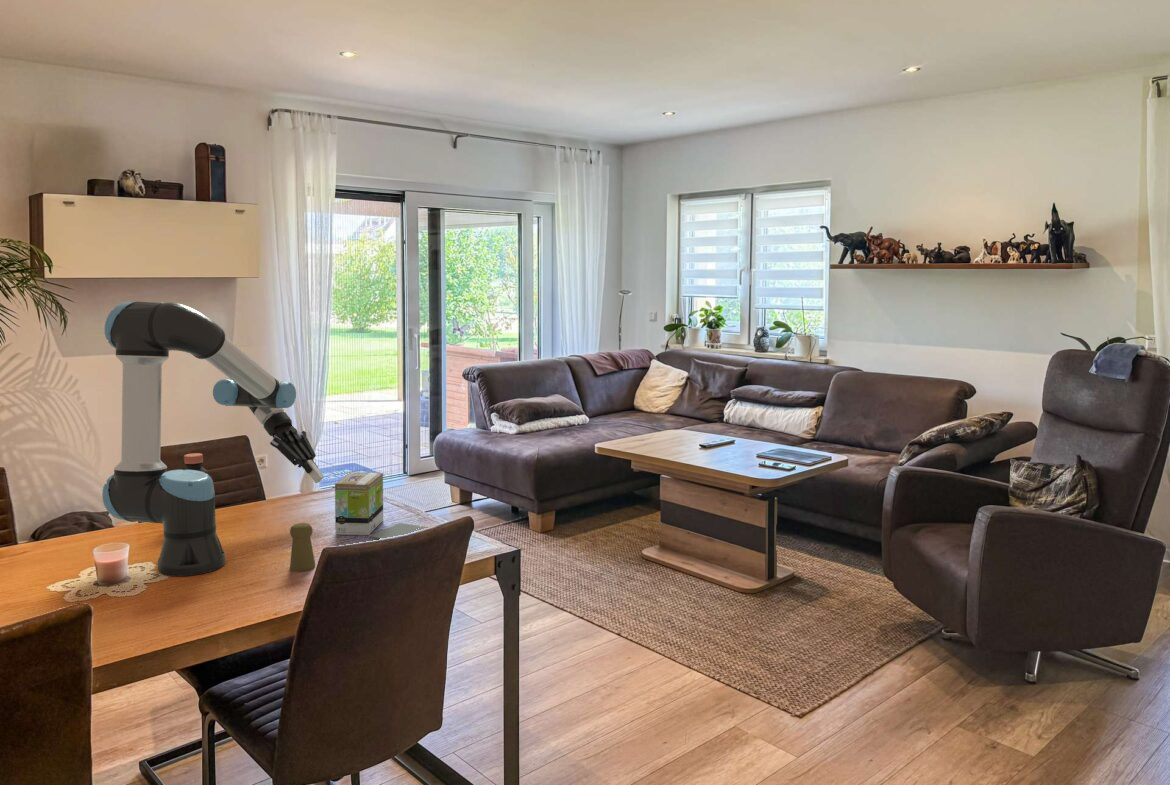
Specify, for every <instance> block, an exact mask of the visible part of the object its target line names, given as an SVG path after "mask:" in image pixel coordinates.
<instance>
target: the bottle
mask: <svg viewBox="0 0 1170 785" xmlns="http://www.w3.org/2000/svg"><path fill="white" fill-rule="evenodd" d="M183 461H184V466H185V467H184V469H183V470H196V471H201V472H204V473H206V474H208V470H207V469H206V468H205V467H203V464H204V455H203V453H199V452H196V453H195V452H194V453H187V454H184V455H183Z"/></svg>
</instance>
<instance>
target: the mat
mask: <svg viewBox="0 0 1170 785" xmlns="http://www.w3.org/2000/svg"><path fill="white" fill-rule="evenodd" d="M420 526H421V527H420ZM418 528H419V529H418ZM424 528H428V526H425V525H424V526H423V525H416V524H408V523H403V522H397V523H396V524H394V525H391V526H389V527H387V528H385V529H383V530H382V529H381V530H380V531H378V532H375V533H372V534H369V535H368V539H370V538H372V539H371V540H377V539H380V538H387V537H393V536H398V535H404V534H408V533H411V532H414V531H417V530H421V529H424ZM416 529H417V530H416Z"/></svg>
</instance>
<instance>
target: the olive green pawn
mask: <svg viewBox="0 0 1170 785" xmlns="http://www.w3.org/2000/svg"><path fill="white" fill-rule="evenodd" d="M289 534H290V536H291V538H292V543H291V544H292V545H291V552H290V553H291V554H290V562H289V563H290V564H289V570H290V571H292V572H297V573H298V572H300V573H301V572H308V571H311V570H314V569H315V568H316V567H315V566H316V561H315V555H314V551H313V550H314V549H313V545H312V539H311V536H312V535H313V527H312V525H311V524H310V523H307V522H299V523H295V524H294V525H292V526H290V530H289Z"/></svg>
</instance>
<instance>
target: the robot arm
mask: <svg viewBox="0 0 1170 785" xmlns="http://www.w3.org/2000/svg"><path fill="white" fill-rule="evenodd" d="M104 335H105V339H106V340H108V344H109V345H110V346H111V347H113V348H114V349H115V357H116V358H117V359H118V360H119V361H120V362H121V363H122V381H121V382H122V386H121V388H122V392H121V393H122V394H121V395H122V396H121V397H122V398H121V399H122V400H121V459H120V460H121V461H120V462H119V463H118V464H116V465H115V467H114V468H113V469H114V470H113V473H114V474H112V475H110V476H109V477H108V478H107V479H106V483H104V485H103V488H102V496H101V497H102V503H103V505H104V508H105V509H106V511H107V513H109V514H110V515H111V516H112V517H113V518H115V519H117V520H123V521H126V522H129V523H130V522H131V523H136V522H139V523H149V524H151V523H152V524H162V525H163V527H162V528H163V542H162V545H161V550H160V553H159V554H160V555H159V557H158V559H157V572H158V573H159V574H161V575H164V576H169V577H190V576H191V577H192V576H197V575H203V574H206V573H210V572H214V571H217V570H218V569H220V568H222V567H223V566H225V564H226V553H225V551H224V549H223V546H222V544H221V541H220V538H219V536H218V533H217V526H216V524H217V523H216V521H217V520H216V501H215V500H216V499H215V496H216V492H215V487H214V480H213V478H212V476H211V475H209V474H208V473H207V474H206V473H204V472H201V471H196V470H184V469H172V470H168V466H167V465H166V463H164V462H163V461H162V460H161V448H162V447H161V445H162V444H161V438H162V436H161V435H162V434H161V433H162V383H163V382H162V379H163V378H162V376H163V375H162V373H163V372H162V370H163V368H162V367H163V366H162V365H163V364H164V362H166V361H167V360H168V359H169V358H170V356H169V355H170V353H169V352H170V351H176V352H177V351H178V352H183V353H187V354H190V355H192V356H193V357H195V358H196V359H199V360H205V361H207V362H208V363H209V364H211V365H212V366H213V367H214V368H216V369H217V370H219V372H222V374H224V375H225V376H226V377H228V378H223V379H220V380H218V381H217V382H216V383H215V384H213V388H212V396H213V397H212V398H213V399H214V401H215V402H216V403H217V404H219V405H221V406H226V407H245V408H246V407H247V408H248V409H249V410H250V412H251V413H252V414H253V416H255V418H256V419H257V421H259V423H260V424H261V426H263V429H264V430H265V432H267V434H268V435H269V436H270V437H272V438H273V439H272V440H271V441H270V442H269V444H270V445H271V446H272V447H274V448H276V449H277V451H279V452H280V454H282V455H283V456H284V457H285V458H286V459H287V460H288V461H289V462H290V463H292V464H293V466H297V468H303V470H304V471H305V472H306V473H307V474H308V475H309V476H310V478H311V479H312V480H313V481H314V483H315V484H317V483H320V482H321V481H322V480H323V479H324V477H325V476H324V474H323V472H321V470H320V468H319V466H318V465H317V463H316V462H315V461H314V459H315V457H316V456H317V455H316V453H315V451H314V449H313V447H312V445H311V443H310V440H309V438H308V436H307V432H306V431H305V430H302V431H298V429H297V428H295V427H294V426H293V421H292V419H291V418H290V416H289V415H288V414H287V412H286V411H285V410H284V409H289V408H291V407H293V405H294V404H295V401H296V399H297V391H296V390H297V389H296V387H295V385H294V384H293V383H292V382H290V381H285V380H282V381H280V380H279V379H276V378H275V377H274V376H273V375H271V373H269V372H268V371H267V370H266V369H265V368H263V367H262V366H261V365H260V364H259V363H257V362H256V361H255V360H254V359H253V358H251V357H250V356H249V355H248V354H246V353H245V351H243V350H242V349H241V348H239V347H238V346H237V344H235V343H234V342H233V341H231V340H230V339H229V338H228V337H227V335H226V332H225V330H224V329H223V328H222V327H221V326H220V325H219V324H217V323H216V322H215V321H214V320H213V319H211V318H210V317H208V316H206V315H205V314H204V313H202V312H200V311H198V310H196V309H194V308H193V307H190V306H188V305H186V304H182V303H179V302H152V301H147V302H146V301H130V302H123V303H120V304H118V305H116V306H115V307H114V308H113V309H112V310H110V312H109V313H108V315H107V316H106V319H105V323H104Z"/></svg>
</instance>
